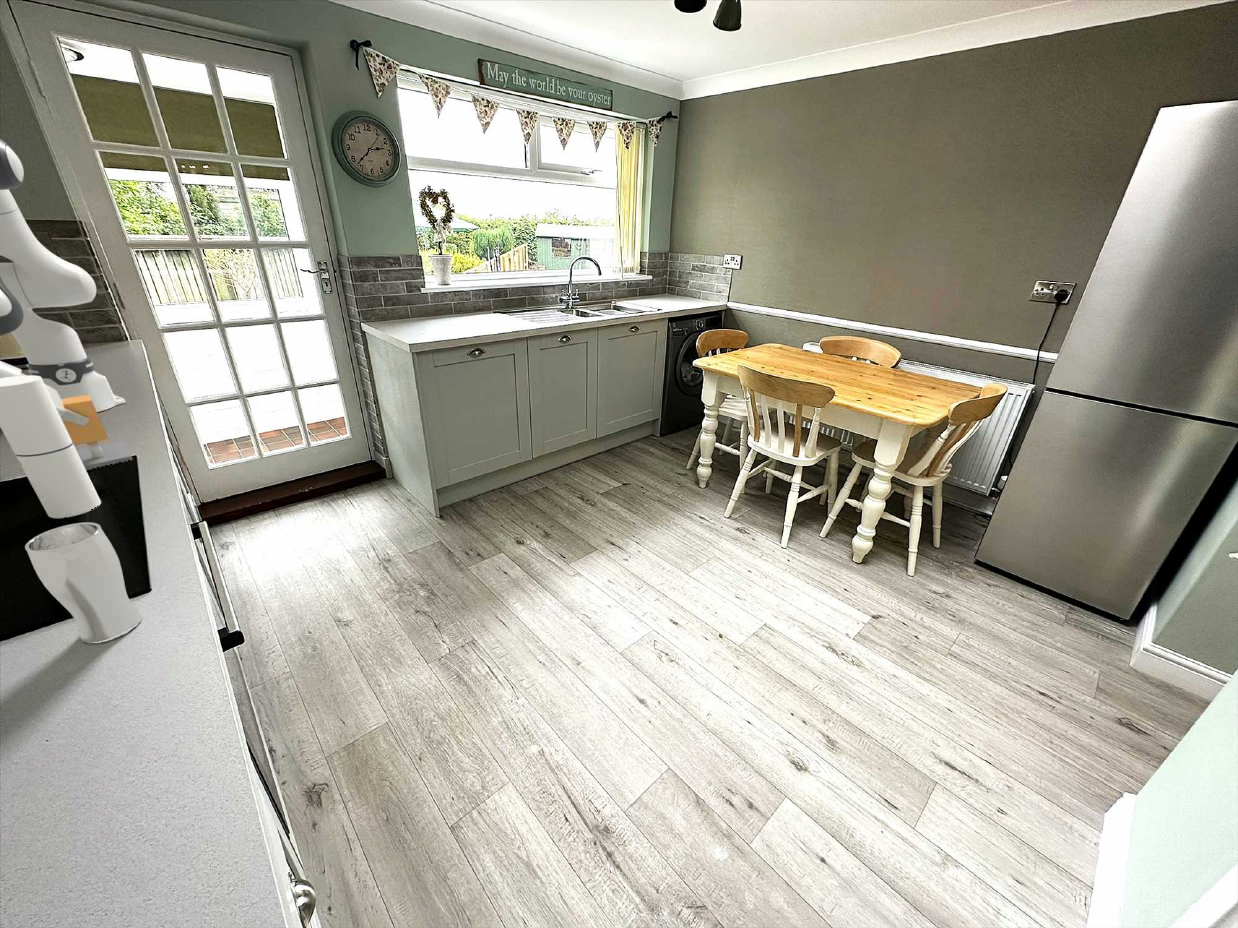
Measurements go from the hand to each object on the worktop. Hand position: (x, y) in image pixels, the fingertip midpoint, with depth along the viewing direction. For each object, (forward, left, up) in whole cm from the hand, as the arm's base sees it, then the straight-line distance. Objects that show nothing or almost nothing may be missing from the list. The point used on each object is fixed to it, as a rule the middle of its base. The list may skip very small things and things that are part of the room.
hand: (85, 418), depth 108 cm
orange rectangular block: (0, -1, -5) cm, 5 cm away
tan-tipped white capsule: (0, -1, -10) cm, 10 cm away
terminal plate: (-2, -1, -10) cm, 11 cm away
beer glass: (+70, -7, -10) cm, 71 cm away
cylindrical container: (+24, -7, -10) cm, 27 cm away
